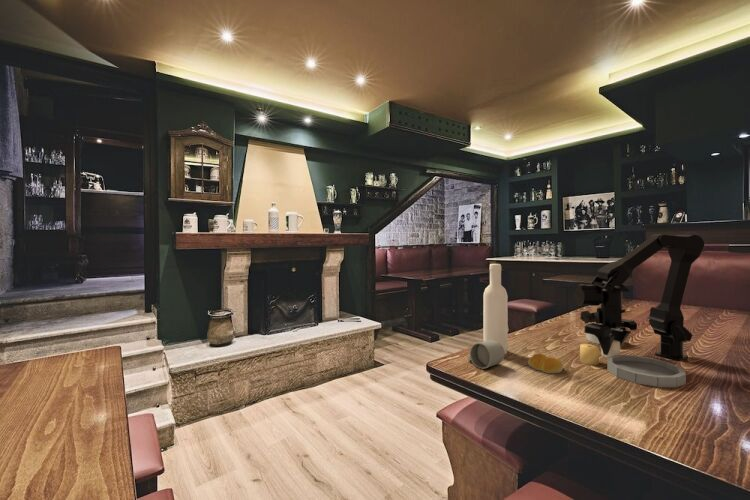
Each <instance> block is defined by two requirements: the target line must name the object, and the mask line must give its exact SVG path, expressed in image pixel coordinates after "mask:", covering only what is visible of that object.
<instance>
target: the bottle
mask: <svg viewBox="0 0 750 500" xmlns="http://www.w3.org/2000/svg"><path fill="white" fill-rule="evenodd" d="M502 269H503V267H502V265H501V264H500V263H490V264H489V284H488V285H487V287H485V289H484V291H483V310H482V311H483V313H482V314H483V321H482V322H483V325H482V326H483V327H482V328H483V334H482V335H483V341H482V342H484V341H496V342H498V343H500V344H501V346H502V347H503V349H504V353H505V355H506V354H508V350H509V343H508V341H509V340H508V335H509V334H508V333H509V332H508V325H509V324H508V322H509V321H508V316H509V315H508V311H509V310H508V307H509V305H508V298H509V297H508V293H507V290H506V288H505V287H504V286H503V285H502Z"/></svg>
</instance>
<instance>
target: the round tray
mask: <svg viewBox="0 0 750 500" xmlns="http://www.w3.org/2000/svg"><path fill="white" fill-rule="evenodd" d="M606 360H607V361H606V362H607V364H606V366H607V367H606V370H607V372H608V373H610V374H612V375H613V376H615V377H616V378H618V379H623V380H625V381H628V382H631V383H634V384H640V385H645V386H649V387H653V388H654V387H656V388H679V387H682V386H684V385H686V384H687V374H686V371H685V370H684V368H683V367H680V366H678V365H676V364H674V363H671V362H670V361H666V360H661V359H658V358H654V357H649V356H643V355H636V354H620V355H614V356H610V357H607V358H606Z"/></svg>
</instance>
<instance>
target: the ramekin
mask: <svg viewBox="0 0 750 500" xmlns="http://www.w3.org/2000/svg"><path fill="white" fill-rule="evenodd" d="M586 325H587V324H585V325H584V326H586ZM585 335H586V339H587V340H588V341H589V342H590V343H594V344H595V345H596V344H597V345H600V343H599V340H598V338H597V337H596V336H595V335H592V334H588V333H585Z"/></svg>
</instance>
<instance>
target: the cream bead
mask: <svg viewBox="0 0 750 500" xmlns="http://www.w3.org/2000/svg"><path fill="white" fill-rule="evenodd" d="M600 348H601V347H600ZM600 352H601V355H600V356H602V357H603V358H606V359H607V357H610V356H614V355H621V347H620V342H619V341H617V340H613V342H612V345H611V348H610V351H609V353H608V355H605V354H603V351H602V348H601V351H600Z"/></svg>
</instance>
